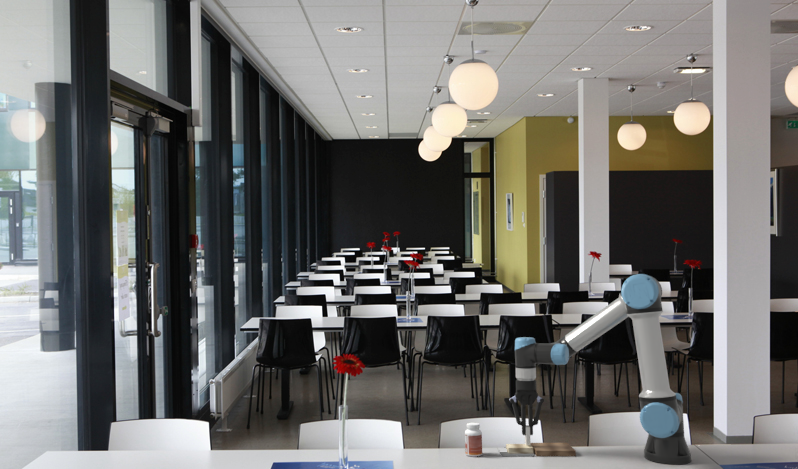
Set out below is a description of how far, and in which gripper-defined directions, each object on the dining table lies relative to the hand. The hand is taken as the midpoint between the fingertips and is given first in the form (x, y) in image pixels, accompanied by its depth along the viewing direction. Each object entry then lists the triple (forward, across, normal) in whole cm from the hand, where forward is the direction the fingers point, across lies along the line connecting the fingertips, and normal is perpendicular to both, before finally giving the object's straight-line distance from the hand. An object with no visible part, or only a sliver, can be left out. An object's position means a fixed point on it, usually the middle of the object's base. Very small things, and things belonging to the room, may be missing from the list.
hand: (527, 444), depth 224 cm
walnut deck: (+3, -9, 0) cm, 9 cm away
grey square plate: (+3, +4, 0) cm, 5 cm away
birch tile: (+3, +3, 0) cm, 4 cm away
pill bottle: (+3, +20, +4) cm, 21 cm away
